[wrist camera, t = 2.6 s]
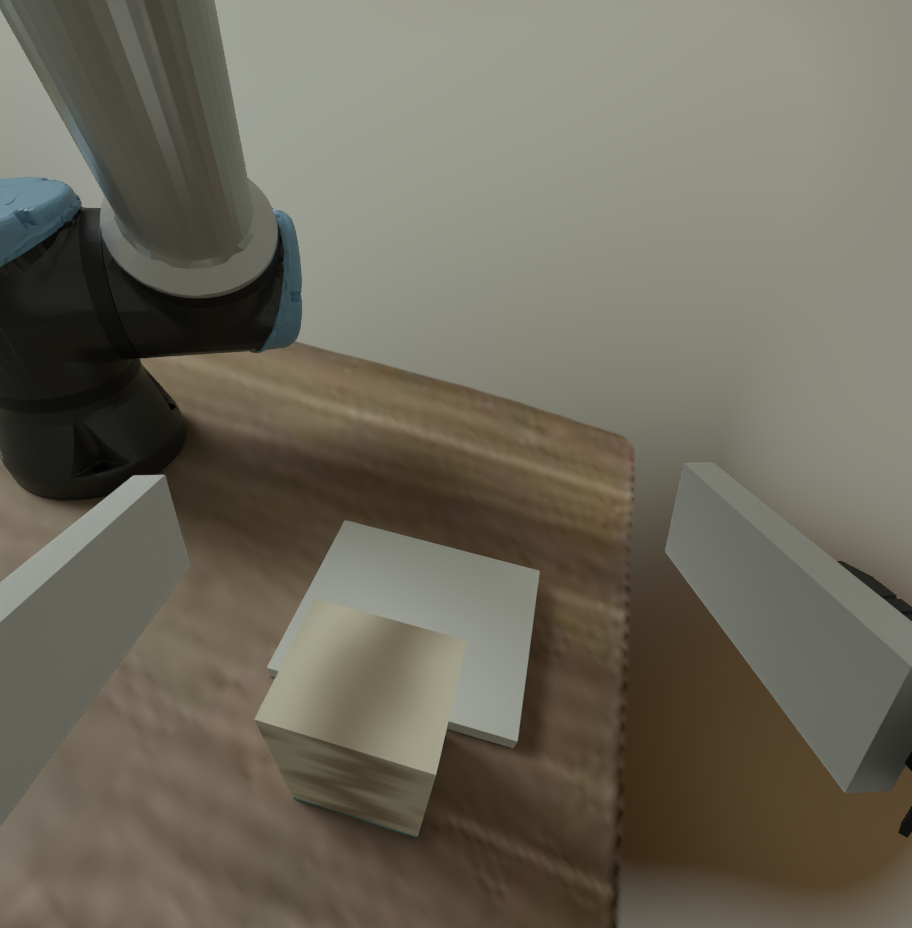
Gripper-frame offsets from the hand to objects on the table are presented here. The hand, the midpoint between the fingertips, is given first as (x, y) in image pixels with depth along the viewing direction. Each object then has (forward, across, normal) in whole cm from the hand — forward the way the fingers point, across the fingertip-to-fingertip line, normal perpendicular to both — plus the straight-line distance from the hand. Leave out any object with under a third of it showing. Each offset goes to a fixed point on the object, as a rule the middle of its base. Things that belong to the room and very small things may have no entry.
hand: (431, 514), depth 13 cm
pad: (+20, -2, -22) cm, 29 cm away
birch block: (+10, -4, -25) cm, 27 cm away
